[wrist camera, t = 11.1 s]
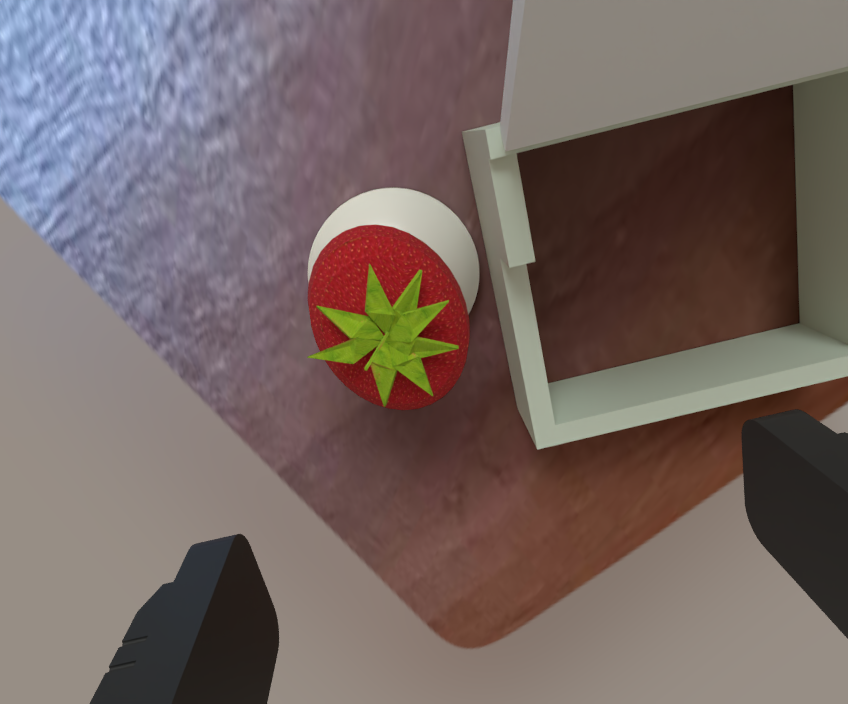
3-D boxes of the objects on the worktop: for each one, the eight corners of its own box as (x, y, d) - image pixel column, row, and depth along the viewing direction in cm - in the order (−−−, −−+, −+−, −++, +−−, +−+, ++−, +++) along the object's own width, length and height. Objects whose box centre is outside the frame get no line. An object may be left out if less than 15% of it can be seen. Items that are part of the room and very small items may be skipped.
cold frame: (432, -14, 26) (516, -297, 9) (811, -111, 25) (1636, -595, 9) (517, 408, 32) (657, 696, 16) (819, 336, 32) (1293, 553, 15)
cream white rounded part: (288, 210, 28) (285, 212, 27) (457, 168, 28) (459, 169, 27) (336, 368, 31) (335, 374, 30) (491, 331, 31) (494, 335, 30)
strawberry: (369, 376, 30) (363, 492, 21) (292, 238, 28) (247, 301, 18) (478, 325, 30) (522, 422, 20) (411, 180, 27) (426, 215, 18)
